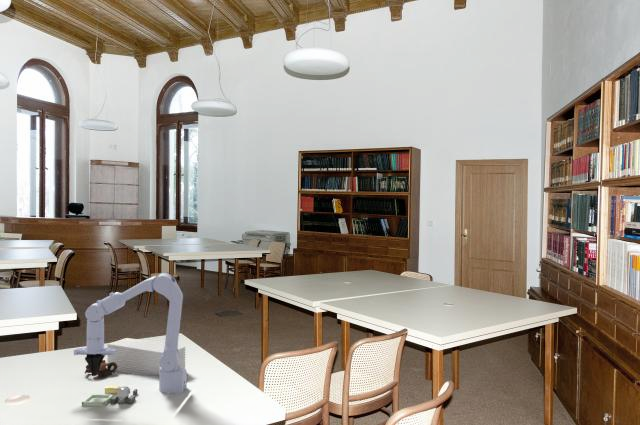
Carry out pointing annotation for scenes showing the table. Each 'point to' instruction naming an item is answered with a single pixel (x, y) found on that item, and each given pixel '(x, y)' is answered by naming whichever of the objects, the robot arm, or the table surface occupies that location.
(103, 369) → the brown piece
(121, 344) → the long grey box
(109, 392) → the tan rectangular block
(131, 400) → the board
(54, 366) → the table surface
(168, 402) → the table surface
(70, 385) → the table surface
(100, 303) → the robot arm
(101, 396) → the tray
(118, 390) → the shiny metal cylinder
